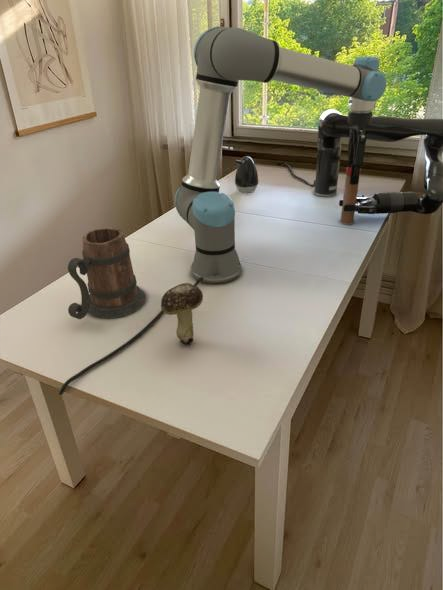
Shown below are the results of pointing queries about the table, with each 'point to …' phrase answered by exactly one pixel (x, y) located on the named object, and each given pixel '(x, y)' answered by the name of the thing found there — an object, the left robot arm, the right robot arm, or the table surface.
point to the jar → (349, 201)
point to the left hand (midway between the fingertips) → (351, 181)
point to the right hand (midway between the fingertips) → (341, 205)
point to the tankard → (105, 276)
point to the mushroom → (182, 308)
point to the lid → (349, 171)
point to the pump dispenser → (246, 175)
